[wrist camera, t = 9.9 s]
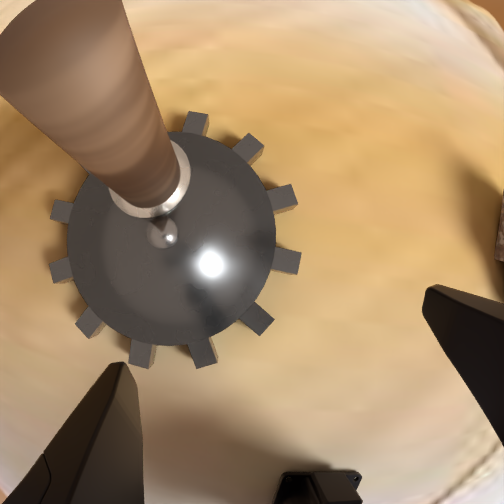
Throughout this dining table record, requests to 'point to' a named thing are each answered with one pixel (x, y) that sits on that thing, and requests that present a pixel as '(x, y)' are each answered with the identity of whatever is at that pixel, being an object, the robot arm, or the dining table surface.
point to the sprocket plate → (178, 250)
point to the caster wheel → (500, 236)
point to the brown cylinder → (90, 94)
